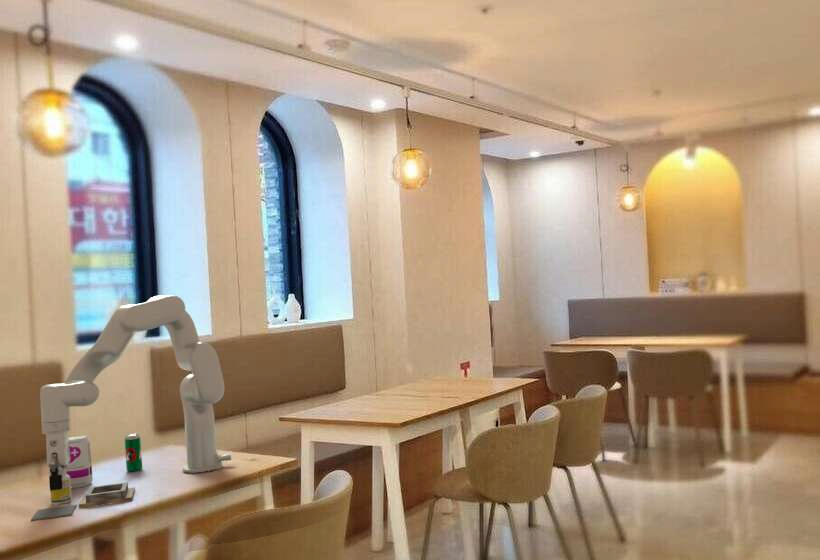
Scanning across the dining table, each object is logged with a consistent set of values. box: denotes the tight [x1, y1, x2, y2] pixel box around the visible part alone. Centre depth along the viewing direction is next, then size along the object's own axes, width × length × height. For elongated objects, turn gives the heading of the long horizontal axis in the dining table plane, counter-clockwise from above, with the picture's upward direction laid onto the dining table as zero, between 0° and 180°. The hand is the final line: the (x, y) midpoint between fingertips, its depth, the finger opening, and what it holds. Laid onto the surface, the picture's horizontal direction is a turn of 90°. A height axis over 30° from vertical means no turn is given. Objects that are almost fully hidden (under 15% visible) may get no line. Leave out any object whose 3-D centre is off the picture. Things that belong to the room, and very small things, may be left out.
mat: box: [30, 504, 78, 522], centre depth 207 cm, size 10×10×1 cm
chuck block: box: [78, 481, 136, 509], centre depth 219 cm, size 14×12×3 cm
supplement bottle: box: [49, 467, 72, 505], centre depth 219 cm, size 5×5×10 cm
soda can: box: [124, 433, 143, 473], centre depth 254 cm, size 5×5×12 cm
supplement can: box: [66, 435, 93, 489], centre depth 239 cm, size 8×8×15 cm
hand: (59, 485), depth 218 cm, fingers open, 9 cm apart
